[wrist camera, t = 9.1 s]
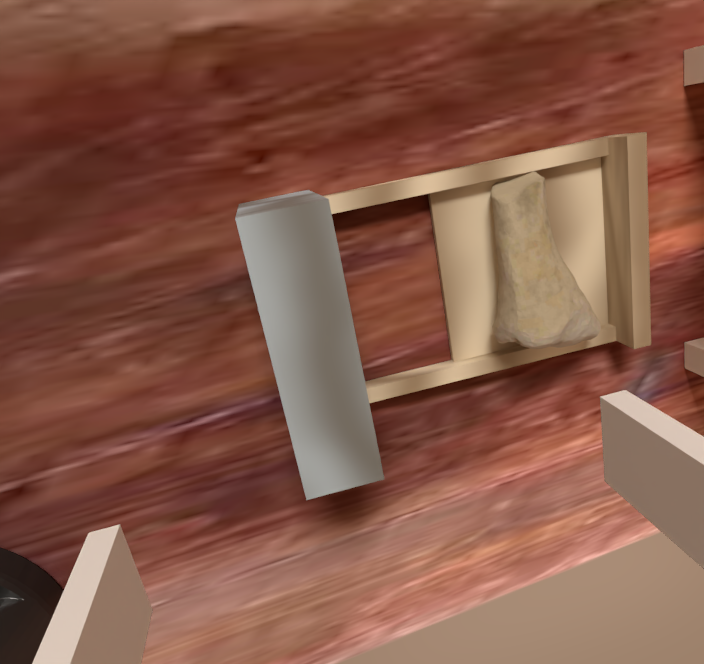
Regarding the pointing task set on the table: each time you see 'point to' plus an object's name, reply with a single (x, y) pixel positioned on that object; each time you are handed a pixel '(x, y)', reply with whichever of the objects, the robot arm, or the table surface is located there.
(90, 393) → the table surface
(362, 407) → the rock display tray
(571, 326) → the stone
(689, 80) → the shelf
